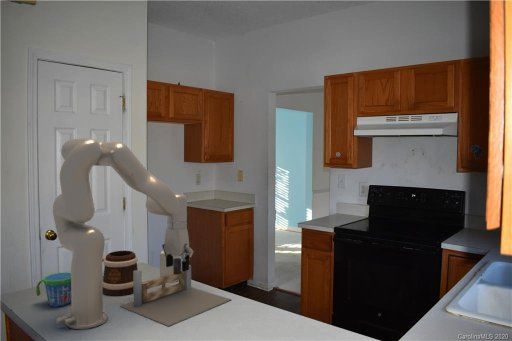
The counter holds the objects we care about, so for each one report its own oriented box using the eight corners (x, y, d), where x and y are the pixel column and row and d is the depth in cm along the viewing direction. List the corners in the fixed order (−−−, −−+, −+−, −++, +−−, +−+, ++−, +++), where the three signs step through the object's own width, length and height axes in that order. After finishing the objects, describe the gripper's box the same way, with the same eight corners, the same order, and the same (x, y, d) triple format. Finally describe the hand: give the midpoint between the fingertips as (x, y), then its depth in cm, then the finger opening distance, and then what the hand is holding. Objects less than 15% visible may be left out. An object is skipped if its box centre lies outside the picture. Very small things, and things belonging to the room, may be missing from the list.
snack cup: (30, 309, 142) (30, 280, 142) (45, 298, 153) (45, 272, 152) (75, 309, 143) (74, 280, 142) (86, 298, 153) (86, 272, 153)
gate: (144, 303, 145) (144, 269, 145) (139, 301, 147) (139, 267, 147) (185, 289, 161) (185, 258, 160) (180, 287, 163) (180, 257, 162)
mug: (148, 286, 167) (147, 250, 167) (123, 298, 153) (123, 259, 153) (109, 281, 174) (109, 246, 174) (83, 292, 160) (82, 254, 160)
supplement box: (176, 282, 173) (176, 253, 172) (159, 282, 173) (159, 253, 173) (180, 277, 180) (180, 249, 180) (163, 276, 180) (163, 249, 180)
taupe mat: (168, 326, 128) (168, 325, 128) (119, 306, 145) (119, 305, 145) (231, 300, 152) (231, 299, 152) (183, 285, 168) (183, 284, 168)
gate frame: (136, 308, 143) (136, 272, 142) (132, 307, 145) (131, 271, 144) (191, 289, 163) (191, 258, 163) (186, 288, 165) (186, 257, 165)
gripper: (155, 224, 161) (155, 266, 161) (184, 229, 150) (185, 274, 151) (170, 221, 167) (170, 262, 167) (199, 226, 156) (199, 270, 157)
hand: (177, 268), depth 159 cm, fingers open, 9 cm apart
